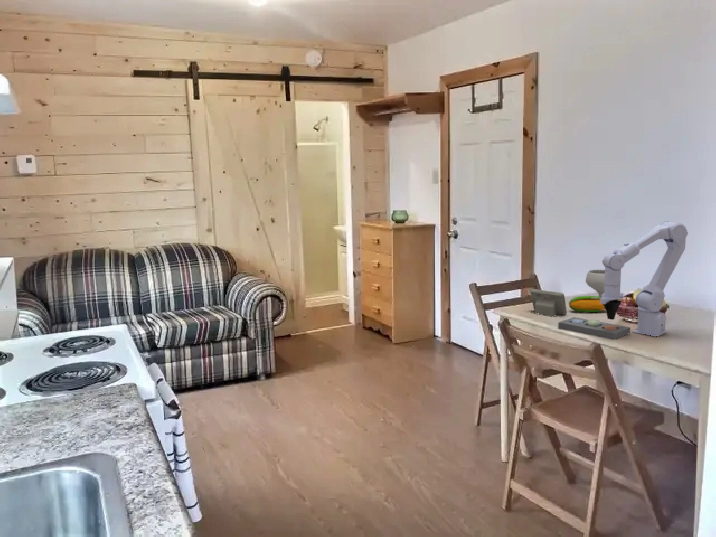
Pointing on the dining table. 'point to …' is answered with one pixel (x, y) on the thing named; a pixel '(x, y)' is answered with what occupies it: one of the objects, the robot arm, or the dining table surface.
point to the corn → (586, 304)
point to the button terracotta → (610, 327)
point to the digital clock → (548, 302)
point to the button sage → (593, 323)
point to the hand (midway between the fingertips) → (610, 319)
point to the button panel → (594, 328)
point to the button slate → (577, 321)
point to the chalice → (596, 280)
